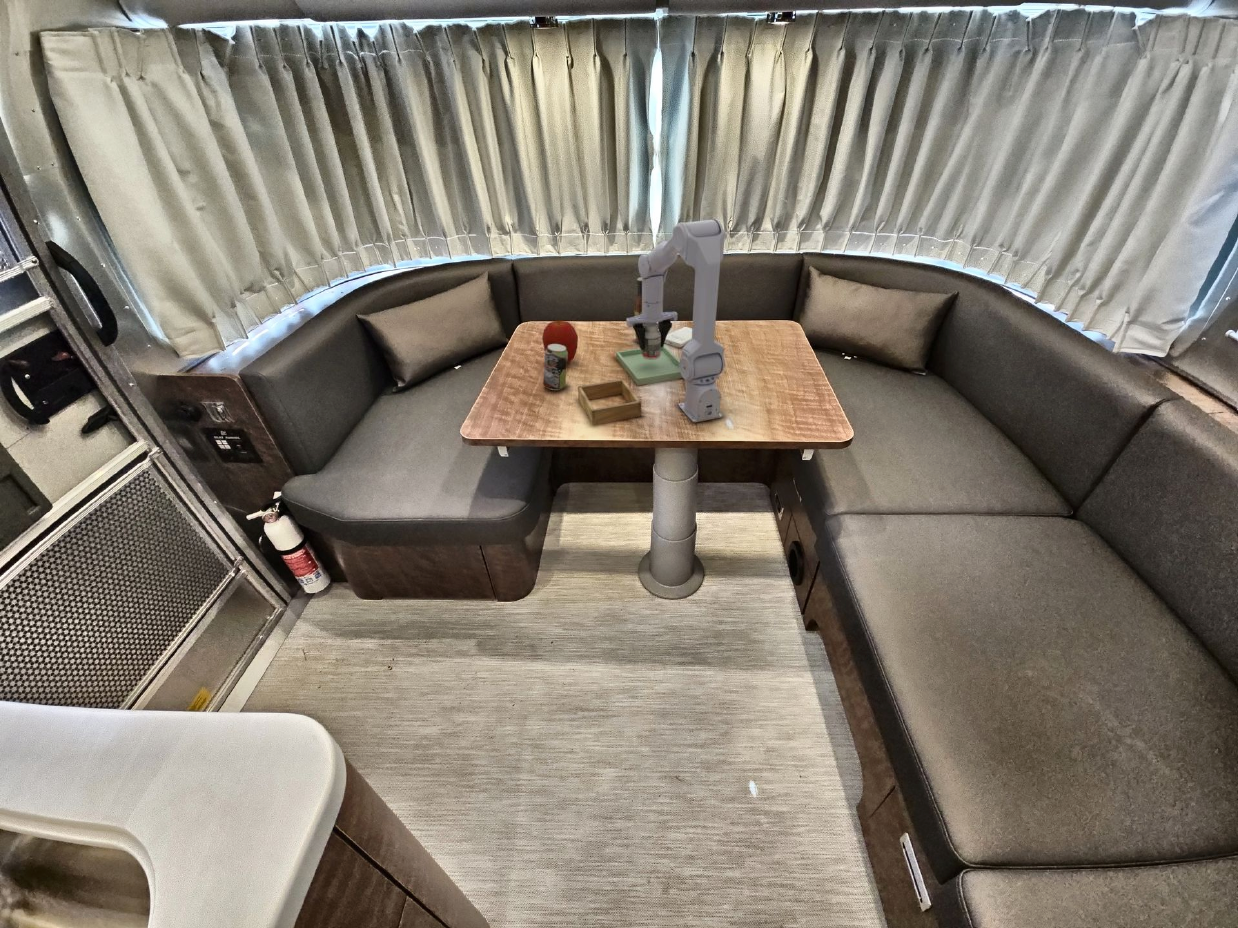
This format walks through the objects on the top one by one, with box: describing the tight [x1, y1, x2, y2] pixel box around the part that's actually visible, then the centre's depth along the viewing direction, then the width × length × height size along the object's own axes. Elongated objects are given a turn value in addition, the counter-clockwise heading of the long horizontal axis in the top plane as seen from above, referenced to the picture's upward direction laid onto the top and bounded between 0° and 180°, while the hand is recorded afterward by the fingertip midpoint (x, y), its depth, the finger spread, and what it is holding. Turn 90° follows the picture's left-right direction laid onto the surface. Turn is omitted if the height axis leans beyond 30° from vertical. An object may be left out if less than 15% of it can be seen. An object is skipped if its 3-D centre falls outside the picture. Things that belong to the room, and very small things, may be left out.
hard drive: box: [664, 326, 692, 349], centre depth 172 cm, size 2×8×12 cm
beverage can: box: [542, 344, 568, 391], centre depth 143 cm, size 6×7×12 cm
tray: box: [615, 345, 684, 386], centre depth 156 cm, size 20×16×2 cm
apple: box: [541, 319, 579, 365], centre depth 156 cm, size 10×10×14 cm
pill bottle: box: [642, 322, 661, 360], centre depth 151 cm, size 5×5×10 cm
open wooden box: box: [577, 378, 642, 426], centre depth 136 cm, size 14×13×4 cm
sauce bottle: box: [633, 276, 644, 344], centre depth 166 cm, size 7×6×20 cm
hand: (651, 347), depth 153 cm, fingers closed on pill bottle, 5 cm apart
